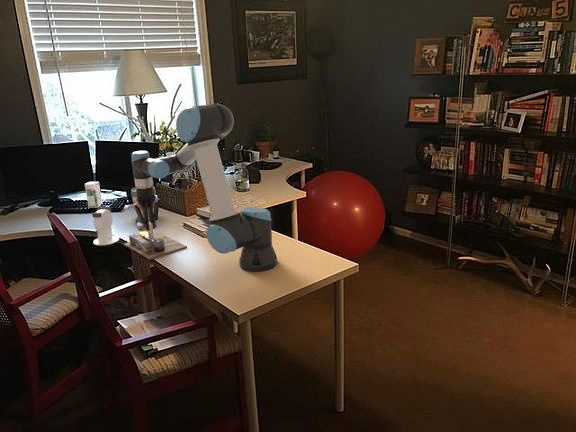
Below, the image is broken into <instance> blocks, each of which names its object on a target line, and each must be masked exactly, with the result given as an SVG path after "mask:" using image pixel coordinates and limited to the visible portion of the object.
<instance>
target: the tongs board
mask: <svg viewBox="0 0 576 432" xmlns="http://www.w3.org/2000/svg"><path fill="white" fill-rule="evenodd" d="M128 238H129V241H128V242H125V243H123V246H125V247H126V248H128V249H129V250H131V251H132V252H134V253H137V254H138V255H140V256H141V257H144V259H146V260H148V261H152V260H154V259H158V258H161V257H163V255H164V256H167V255H170V254H173V253H175V252H179V250H180V251H182V249H183V250H186V249H188V246H187V245H185V244H183V243H181V242H179V241H176V240H175V239H172V238H171V237H169V236H166V235H164V234H162V233H160V232H159V233H156V234H154V238H155V239H163V240H164V246H165V250H164V251H160V252H156V251H154V248H153V247H151V243H150V242H148V241H146V240H145V239H143V238H141V237H140V236H139V234H136V233H135V234H130V235H128ZM185 248H186V249H185ZM166 254H167V255H166Z"/></svg>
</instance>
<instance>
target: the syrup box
mask: <svg viewBox="0 0 576 432" xmlns="http://www.w3.org/2000/svg"><path fill="white" fill-rule="evenodd" d="M84 189H85V192H86V193H85V194H86V199H87V204H88V205H87V207H88V209H89V208H98V207H99V206H100V205H101V204H102V205H103V199H102V194H101V187H100V182H99V181H88V182H86V183H84ZM98 209H99V208H98Z"/></svg>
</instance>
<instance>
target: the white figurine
mask: <svg viewBox="0 0 576 432" xmlns="http://www.w3.org/2000/svg"><path fill="white" fill-rule="evenodd" d="M91 215H92V218H93V226H94V229H95V234H96V235H97V238H95V239H94V240H93V245H95V246H108V245H112V244H115V243H118V241H120V237H119V236H117V235H113V229H112V225H113V219H114V218H113V215H112V207H111V206H102V207H101V209H97V211H95V212H92V214H91Z"/></svg>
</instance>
